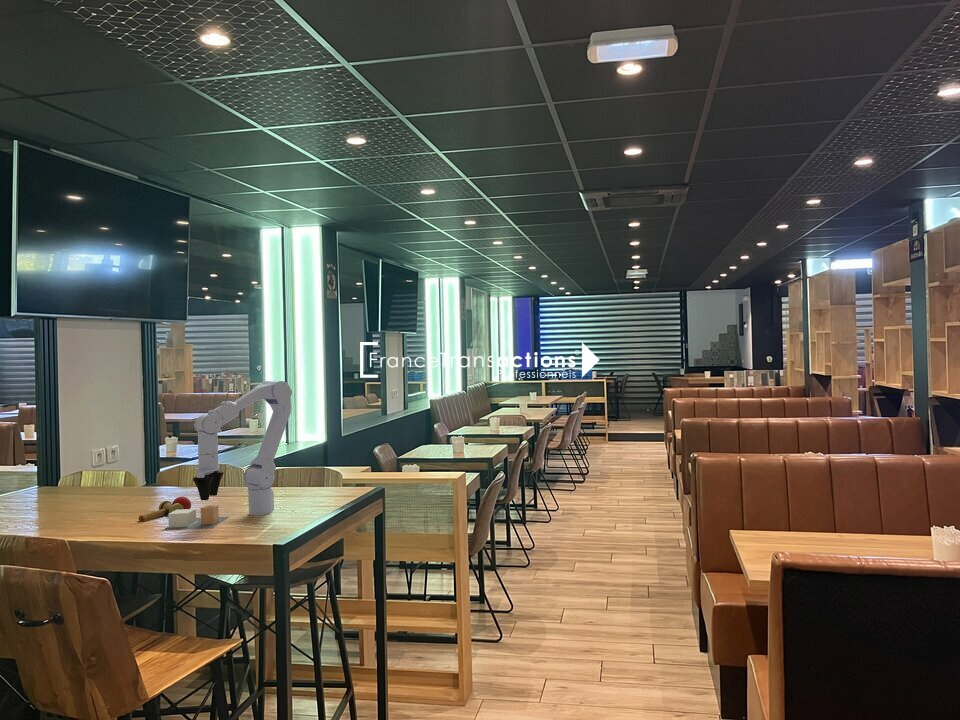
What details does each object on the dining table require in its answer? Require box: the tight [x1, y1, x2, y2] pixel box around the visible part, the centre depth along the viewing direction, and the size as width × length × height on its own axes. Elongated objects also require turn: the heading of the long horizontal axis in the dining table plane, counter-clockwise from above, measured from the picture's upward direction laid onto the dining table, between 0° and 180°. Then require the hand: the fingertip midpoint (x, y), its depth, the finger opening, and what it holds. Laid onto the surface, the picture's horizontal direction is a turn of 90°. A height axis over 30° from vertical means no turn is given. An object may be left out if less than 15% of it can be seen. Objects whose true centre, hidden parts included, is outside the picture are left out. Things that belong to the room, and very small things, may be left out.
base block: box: [167, 508, 197, 527], centre depth 222 cm, size 6×6×4 cm
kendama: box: [138, 496, 192, 522], centre depth 237 cm, size 8×6×18 cm
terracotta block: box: [200, 504, 220, 524], centre depth 223 cm, size 4×4×5 cm
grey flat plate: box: [161, 516, 230, 531], centre depth 223 cm, size 16×15×1 cm
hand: (209, 497), depth 223 cm, fingers open, 7 cm apart
